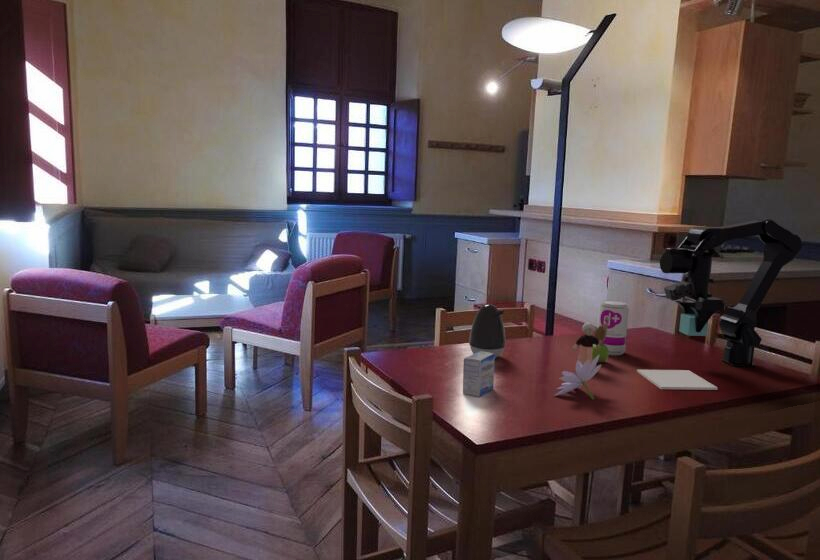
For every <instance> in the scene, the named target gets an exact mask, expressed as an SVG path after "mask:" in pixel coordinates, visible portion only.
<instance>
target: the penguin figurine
mask: <svg viewBox="0 0 820 560" xmlns="http://www.w3.org/2000/svg"><path fill="white" fill-rule="evenodd" d="M504 311H505V310H504V309H498V307H497V306H496V305H493V304H491V303H486V304H483V305H481V307H480V308H479V309H478V310H477V313H476V315H475V316H474V319H473V321H472V325H471V329H470V333H469V339H468V345H469V347H470V350H471V353H472V354H474V353H476V352H479V351H482V352H489V353H493V354H495V359H497V358H499V357H500V356H501V355H502V354H503V352H504V350H505V347H506V346H507V344H506V343H507V342H506V340H507V339H506V331H505V325H504V322H503V318H502V315H503V314H504V313H505V312H504Z"/></svg>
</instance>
